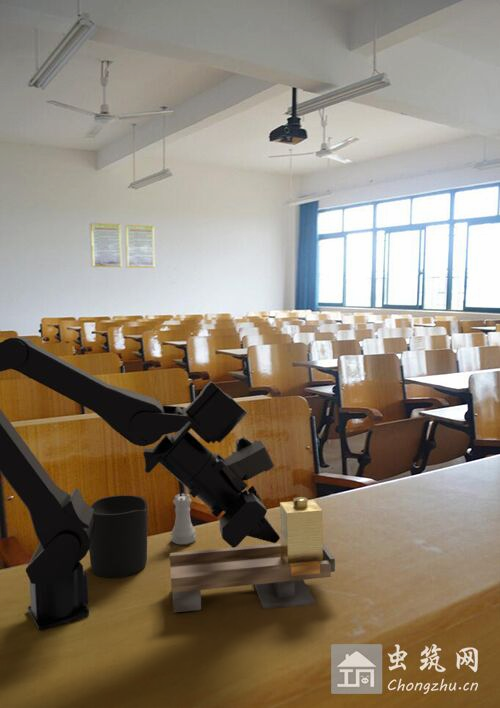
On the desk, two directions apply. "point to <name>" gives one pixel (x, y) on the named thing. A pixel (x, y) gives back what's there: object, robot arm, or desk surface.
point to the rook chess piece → (183, 522)
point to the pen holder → (119, 536)
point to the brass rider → (301, 531)
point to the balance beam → (245, 575)
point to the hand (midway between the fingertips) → (277, 539)
